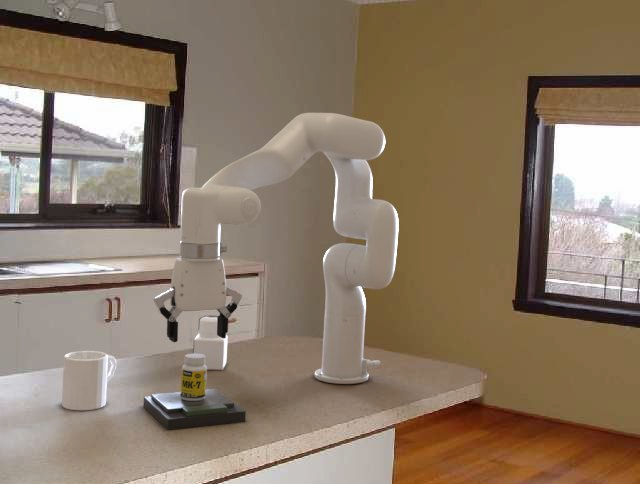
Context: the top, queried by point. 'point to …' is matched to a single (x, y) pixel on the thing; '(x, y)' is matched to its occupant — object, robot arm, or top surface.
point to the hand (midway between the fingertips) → (197, 338)
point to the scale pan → (176, 404)
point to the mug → (86, 379)
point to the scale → (195, 415)
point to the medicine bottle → (210, 343)
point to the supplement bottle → (193, 377)
